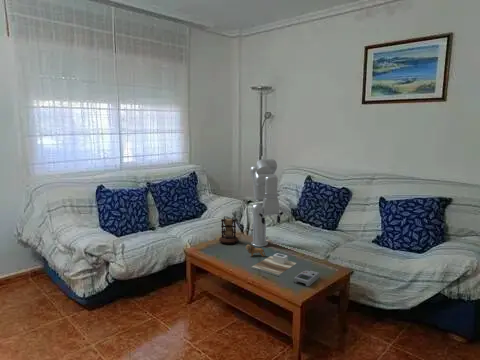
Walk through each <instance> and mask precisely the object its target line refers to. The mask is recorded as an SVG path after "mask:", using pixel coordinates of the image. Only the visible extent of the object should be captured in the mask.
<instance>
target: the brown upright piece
mask: <svg viewBox="0 0 480 360" xmlns="http://www.w3.org/2000/svg"><path fill="white" fill-rule="evenodd" d="M220 221H221V224H220V225H221V231H220V232H221V233H220V234H221V237H219V238H218V241H219V242H220V244H221V243H222V244H233V245H235V243H237V242H238V241H239V237H237V235H236V233H237V231H236V230H237V229H236V228H237V225H236V224H237V223H236V221H237V219H235V218H234V217H232V218H226V217H225V216H224V217H223V219H220Z"/></svg>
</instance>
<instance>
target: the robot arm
mask: <svg viewBox="0 0 480 360" xmlns="http://www.w3.org/2000/svg"><path fill="white" fill-rule="evenodd" d="M249 168H250V169H249V174H250V177H251V180H252V186H253V190H252V191H253V199H254V201H255V202H257V203H254V204H253V205H252V207H251V211H252V220H253V221H252V222H253V223H252V226H253V229H252V231H253V232H252V235H253V236H252V241H251V242H250V245H251V246H254V247H256V248H261V247H266V246H268V245H269V242H268V241H267V240H268V239H270V238H269V236H266V235H267V220H266V218H265V216H266V217H268V216H274V215H277V216H276V222H277V224H280V222H281V217H282V215H284V212H285V209H284V208H283V207H280V202H279V201H280V199H279V198H278V197H280V193H278V181H279V179H278V176H277V175H276V174H275V173H276V171H277V170H278V164H277V161H276V160H275V159H273V158H271V159H270V158H269V159H266V158H264V159H259V160H257V161H256V164H255V165H251V167H249Z"/></svg>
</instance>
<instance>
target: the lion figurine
mask: <svg viewBox="0 0 480 360" xmlns="http://www.w3.org/2000/svg"><path fill="white" fill-rule="evenodd" d="M245 251H246V252H247V253H249V254H251V255H250V257H253V256H254V254H260V256H262V257H263V258H265V256H266V253H265V251H264V249H263V248H261V247H256V246H253V245H252V244H246V245H245Z"/></svg>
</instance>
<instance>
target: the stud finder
mask: <svg viewBox="0 0 480 360" xmlns="http://www.w3.org/2000/svg"><path fill="white" fill-rule="evenodd" d="M272 257H273V261H274V262H278V263H282V264H285V263H286V262H288V261H289V259H288V257H289V256H288V255H286V254H282V253H278V252H277V253H274V254H273V255H272Z"/></svg>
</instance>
